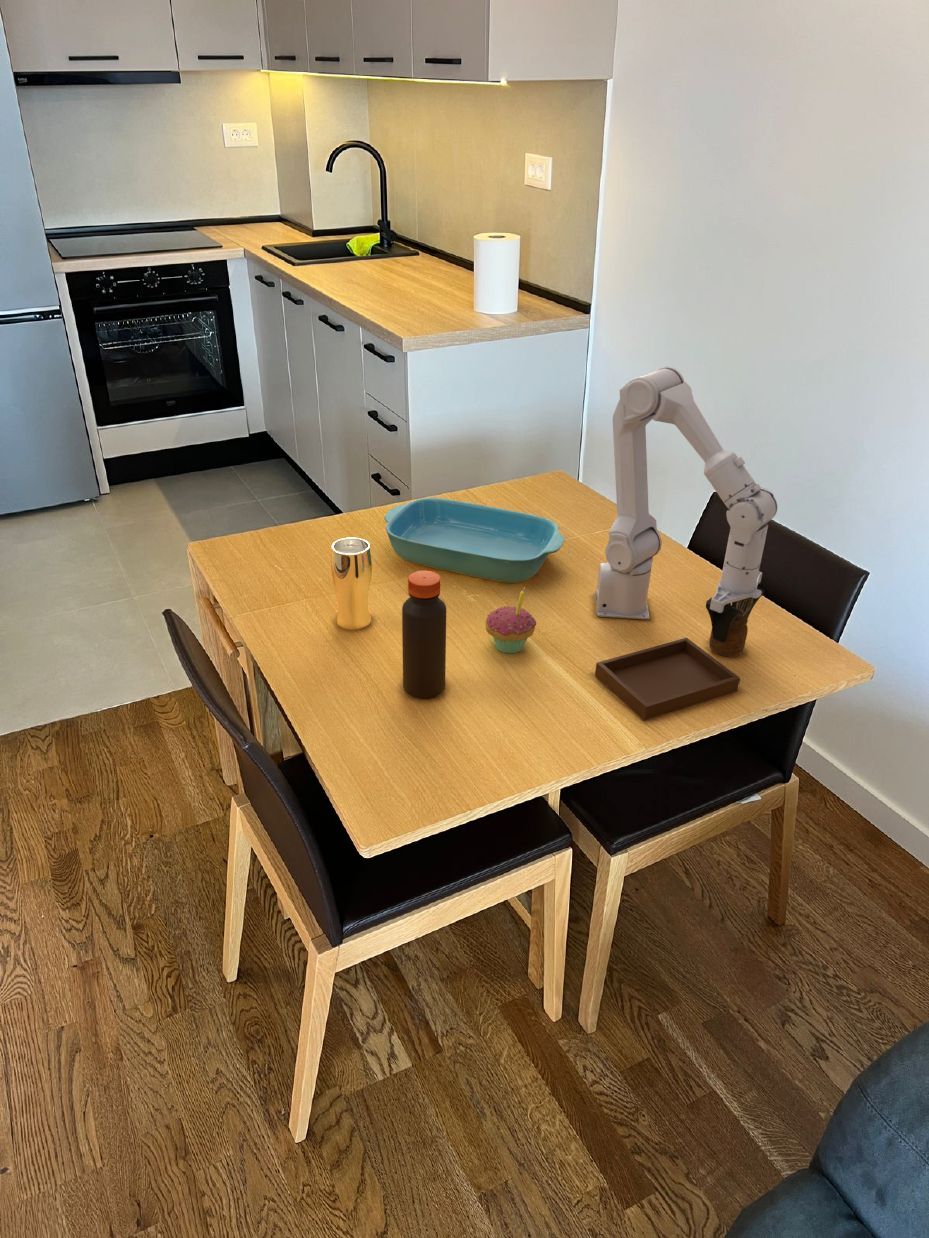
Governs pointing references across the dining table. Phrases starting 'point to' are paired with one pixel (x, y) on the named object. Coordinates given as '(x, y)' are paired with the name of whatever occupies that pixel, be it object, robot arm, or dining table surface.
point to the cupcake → (510, 627)
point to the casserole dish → (472, 538)
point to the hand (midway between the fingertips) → (728, 632)
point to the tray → (666, 678)
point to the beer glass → (352, 581)
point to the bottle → (424, 636)
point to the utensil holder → (732, 637)
